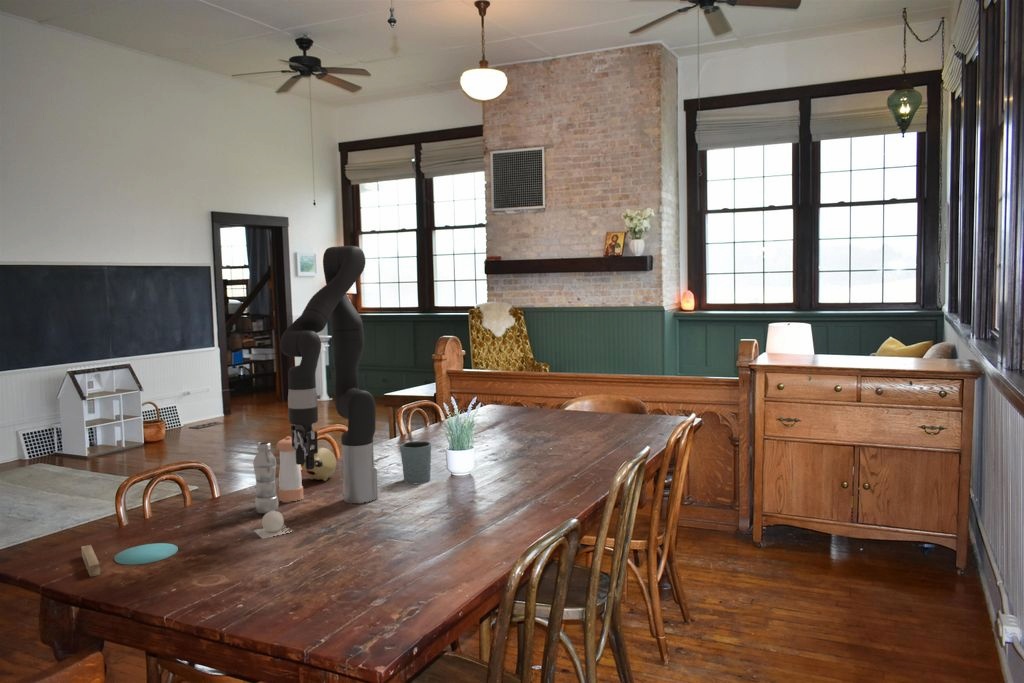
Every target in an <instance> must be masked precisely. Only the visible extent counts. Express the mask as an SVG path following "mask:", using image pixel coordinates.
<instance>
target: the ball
mask: <svg viewBox="0 0 1024 683" xmlns="http://www.w3.org/2000/svg"><path fill="white" fill-rule="evenodd" d="M283 524H284V525H285V520H284V516H283V514H282V513H281V512H279V511H277V510H276V511H270V512H268V513H264V514H263V517H262V519H261V526H262V527H263V528H264V529H265V530H266V531H268V532H276V531H278V530H280V529H281V528H282V526H283Z"/></svg>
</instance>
